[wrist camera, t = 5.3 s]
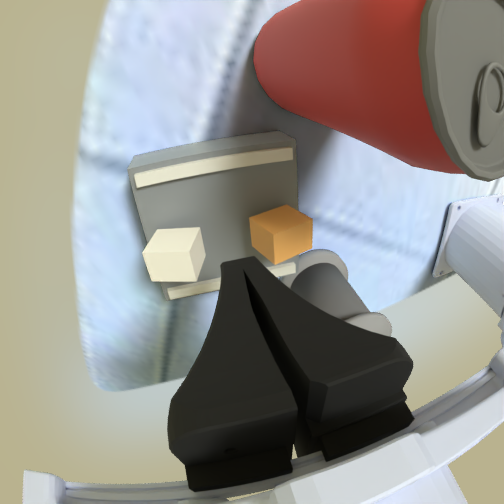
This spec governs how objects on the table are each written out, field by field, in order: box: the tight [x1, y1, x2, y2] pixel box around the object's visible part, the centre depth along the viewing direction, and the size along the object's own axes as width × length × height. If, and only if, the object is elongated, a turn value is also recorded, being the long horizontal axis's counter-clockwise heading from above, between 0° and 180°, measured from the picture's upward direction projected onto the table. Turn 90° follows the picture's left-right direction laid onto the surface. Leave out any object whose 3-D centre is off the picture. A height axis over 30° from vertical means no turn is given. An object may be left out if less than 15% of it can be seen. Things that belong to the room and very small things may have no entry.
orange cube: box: [249, 204, 313, 265], centre depth 15 cm, size 2×2×2 cm
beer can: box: [253, 0, 504, 182], centre depth 9 cm, size 7×7×12 cm
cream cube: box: [142, 227, 206, 282], centre depth 14 cm, size 2×2×2 cm
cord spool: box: [280, 249, 392, 337], centre depth 19 cm, size 5×5×7 cm
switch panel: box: [127, 131, 299, 301], centre depth 16 cm, size 8×8×3 cm
